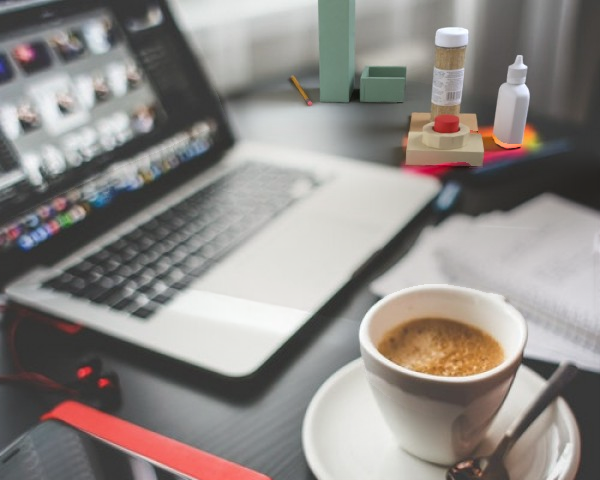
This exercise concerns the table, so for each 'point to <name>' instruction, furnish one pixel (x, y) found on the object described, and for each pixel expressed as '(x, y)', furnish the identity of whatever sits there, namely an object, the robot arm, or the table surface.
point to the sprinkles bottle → (448, 71)
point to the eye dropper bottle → (512, 105)
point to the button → (446, 124)
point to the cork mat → (423, 118)
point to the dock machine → (350, 60)
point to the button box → (444, 147)
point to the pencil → (301, 91)
